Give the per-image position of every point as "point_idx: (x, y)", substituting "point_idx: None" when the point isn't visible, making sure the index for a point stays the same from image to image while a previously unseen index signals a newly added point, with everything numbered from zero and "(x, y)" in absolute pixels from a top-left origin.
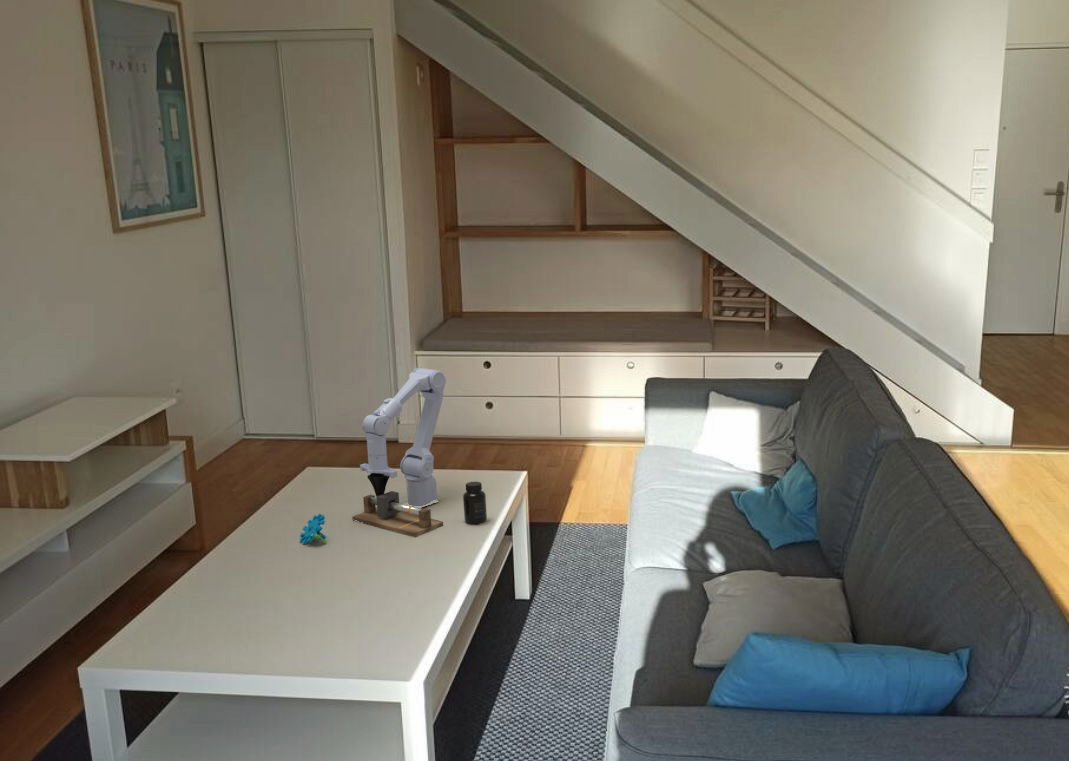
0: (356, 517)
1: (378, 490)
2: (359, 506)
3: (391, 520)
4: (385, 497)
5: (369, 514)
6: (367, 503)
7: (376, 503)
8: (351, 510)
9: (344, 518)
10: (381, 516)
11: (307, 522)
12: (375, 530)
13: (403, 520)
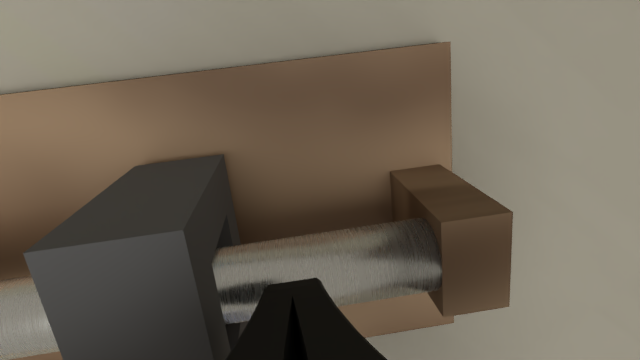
0: (403, 51)
1: (239, 341)
2: (608, 248)
3: None
4: (38, 292)
5: (373, 166)
6: (425, 198)
7: (311, 236)
8: (601, 169)
9: (523, 27)
10: (174, 162)
11: None
12: (81, 14)
13: None
